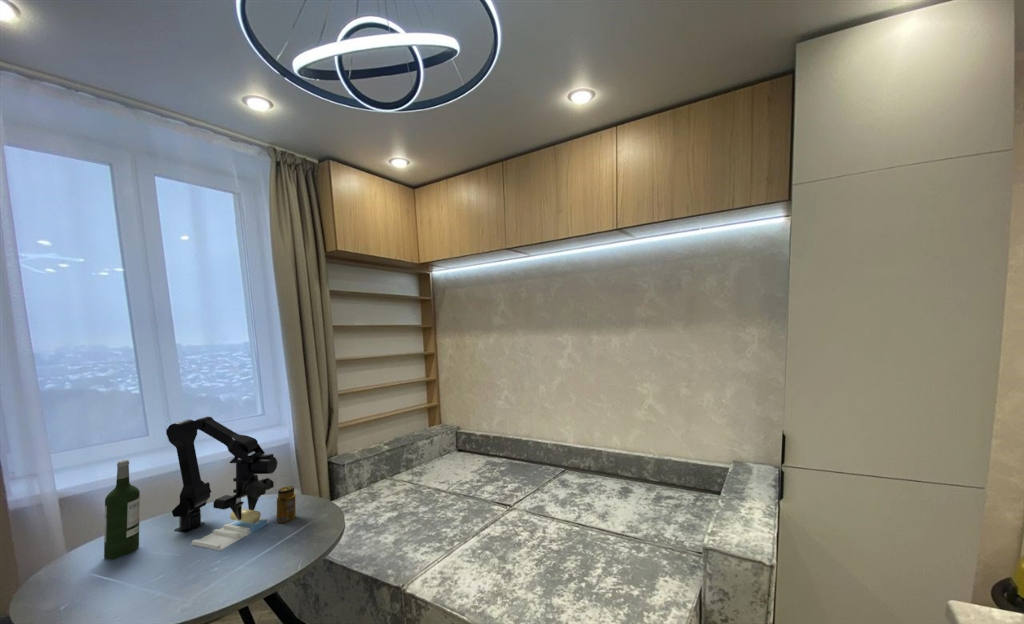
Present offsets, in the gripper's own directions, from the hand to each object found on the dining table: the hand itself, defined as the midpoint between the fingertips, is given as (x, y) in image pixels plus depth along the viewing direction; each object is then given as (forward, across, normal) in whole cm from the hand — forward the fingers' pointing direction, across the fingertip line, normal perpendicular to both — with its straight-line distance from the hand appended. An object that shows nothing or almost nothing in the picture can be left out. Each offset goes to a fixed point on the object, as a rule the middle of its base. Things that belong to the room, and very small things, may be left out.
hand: (245, 516), depth 135 cm
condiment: (+4, +6, -12) cm, 14 cm away
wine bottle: (+4, -23, +25) cm, 34 cm away
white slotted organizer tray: (+4, -5, 0) cm, 6 cm away
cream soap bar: (+2, 0, 0) cm, 2 cm away
